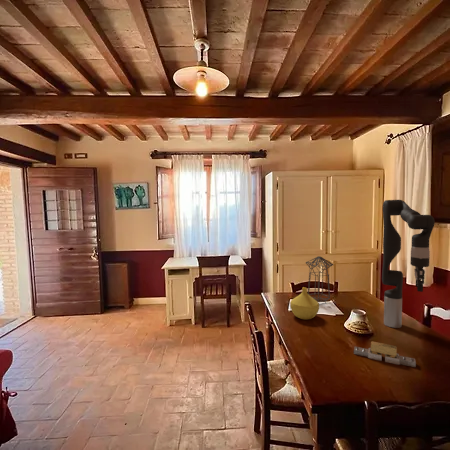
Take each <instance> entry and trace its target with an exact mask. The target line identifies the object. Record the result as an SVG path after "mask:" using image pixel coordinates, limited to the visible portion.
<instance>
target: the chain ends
mask: <svg viewBox="0 0 450 450" xmlns="http://www.w3.org/2000/svg"><path fill="white" fill-rule="evenodd" d="M353 354H354V355H357V356H362V357H365V358H368V359H370V360H376V361H380V362H382V357H383V355H382V354H383V353H378V354H375V353H372V351H371V347H368V348H365V347H360V346H354V349H353ZM384 363H390V364H394V365H397V366H398V365H403V366H406V367H407V366H408V367H412V368H416V366H417V365H416V364H417V362H416V358H413V357H409V356H404V355H400V354H399V353H397V355H396V356H395V358H394V357H389V355H387V354H384Z"/></svg>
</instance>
